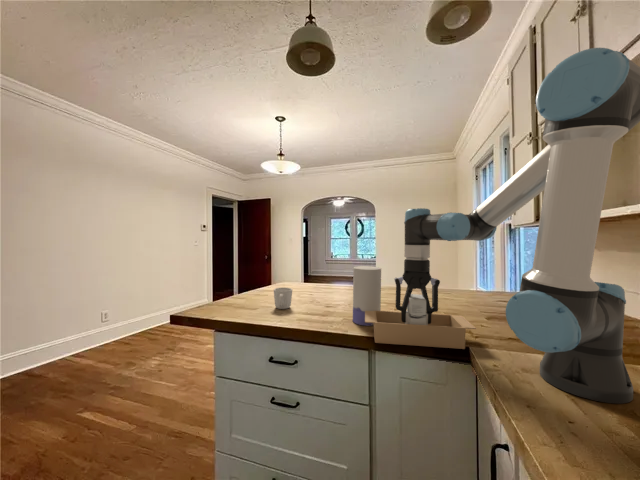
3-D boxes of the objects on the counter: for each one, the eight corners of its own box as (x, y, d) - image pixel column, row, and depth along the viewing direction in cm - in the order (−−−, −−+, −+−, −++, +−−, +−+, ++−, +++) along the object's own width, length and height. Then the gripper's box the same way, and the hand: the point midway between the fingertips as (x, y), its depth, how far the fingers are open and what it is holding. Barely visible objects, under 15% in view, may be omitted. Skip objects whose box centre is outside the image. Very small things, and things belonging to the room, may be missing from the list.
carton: (476, 349, 81) (476, 328, 81) (364, 341, 86) (365, 322, 86) (460, 333, 94) (461, 315, 94) (364, 327, 99) (364, 310, 99)
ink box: (426, 339, 85) (427, 299, 85) (409, 338, 86) (409, 299, 86) (422, 330, 93) (422, 294, 93) (406, 329, 94) (406, 293, 94)
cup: (290, 312, 116) (290, 292, 116) (270, 312, 116) (270, 292, 116) (293, 305, 127) (293, 287, 127) (275, 305, 127) (275, 287, 127)
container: (385, 321, 106) (386, 267, 105) (370, 328, 98) (371, 270, 98) (362, 316, 112) (363, 265, 112) (347, 321, 105) (348, 267, 104)
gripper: (444, 258, 92) (443, 330, 92) (386, 257, 94) (385, 327, 95) (451, 260, 84) (449, 339, 85) (388, 259, 87) (387, 335, 87)
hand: (415, 332), depth 90 cm, fingers closed on ink box, 5 cm apart
